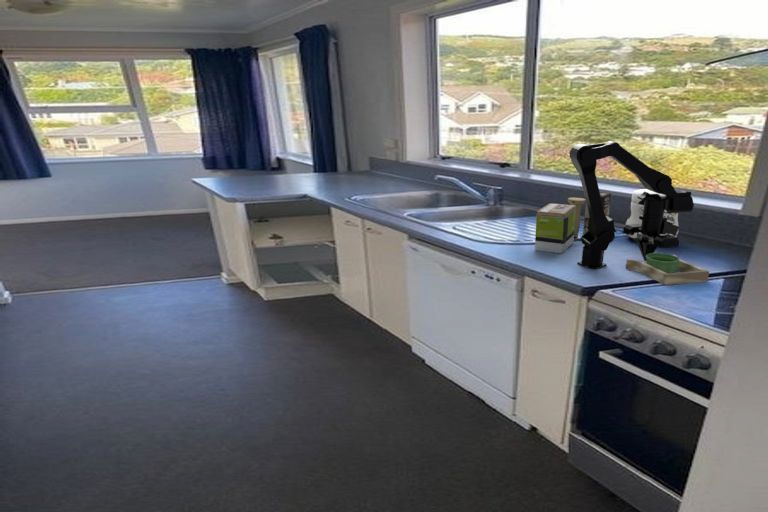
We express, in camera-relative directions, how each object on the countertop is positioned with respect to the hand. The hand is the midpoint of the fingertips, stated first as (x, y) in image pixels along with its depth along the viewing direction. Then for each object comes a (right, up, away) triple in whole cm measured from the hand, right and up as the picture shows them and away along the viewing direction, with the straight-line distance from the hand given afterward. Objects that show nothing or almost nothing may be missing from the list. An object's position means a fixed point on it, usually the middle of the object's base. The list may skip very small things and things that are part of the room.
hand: (646, 261), depth 153 cm
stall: (+1, -4, -9) cm, 10 cm away
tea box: (-22, +5, +21) cm, 31 cm away
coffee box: (-1, +10, +36) cm, 37 cm away
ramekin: (+1, -3, -6) cm, 7 cm away
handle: (-10, +9, +33) cm, 36 cm away
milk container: (+15, +7, +26) cm, 31 cm away
